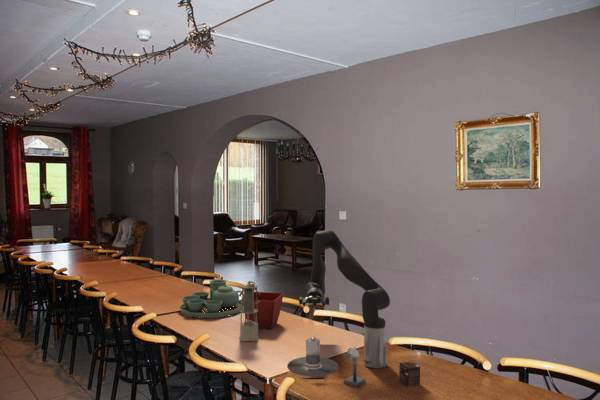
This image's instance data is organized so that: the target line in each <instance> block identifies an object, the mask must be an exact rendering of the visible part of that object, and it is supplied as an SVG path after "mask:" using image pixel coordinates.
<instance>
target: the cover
mask: <svg viewBox="0 0 600 400" xmlns="http://www.w3.org/2000/svg"><path fill="white" fill-rule="evenodd" d="M305 357H306V367H308V368H319V367H320V357H321V340H320V338H318V337H315V336H310V337H308V338H306V339H305Z"/></svg>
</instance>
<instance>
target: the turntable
mask: <svg viewBox="0 0 600 400" xmlns="http://www.w3.org/2000/svg"><path fill="white" fill-rule="evenodd" d="M339 367H340V366H339V364H338V362H337V361H335V360H333V359H330V358H327V357H324V356H320V367H319V368H308V367H306V356H302V357H301V356H300V357H298V358H293V359H292V360H289V362H288V363H287V369H288V370H289V371H290V372H291V373H293V374H295V375H299V376H304V377H302V379H303V380H323V379H326V378H325V377H324V378H323V376H329V375H331V374H334V373H336V372H337V371H338V370H339Z"/></svg>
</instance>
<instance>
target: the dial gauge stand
mask: <svg viewBox="0 0 600 400" xmlns="http://www.w3.org/2000/svg"><path fill="white" fill-rule="evenodd" d="M341 357H344V358H348V359H349V360H350V361H352V375H350V376H349V377H347V378H344V380H343V384H345V385H348V386H351V387H354V388H359V387H360V386H362V385H365V383H366V378H364V377H360V376H357V366H358V365H357V363H358V362H357V361H358V359H359V358H360V351H359V350H358V349H357V348H356V347H355V346H354V347H353V346H352V347H350V348H348V349H347V351H346V353H341Z"/></svg>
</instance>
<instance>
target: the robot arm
mask: <svg viewBox="0 0 600 400" xmlns="http://www.w3.org/2000/svg"><path fill="white" fill-rule="evenodd" d="M328 249H331V250H333V251H334V253H335V254H336V265H337V269H338V270H339V271H340V273H341V274H342V275H343V276H344V277H345V279H347V280H348V281H349V282H350V283H352V284H353V285H356V286H358V287H360V288H362V289H363V290H364V292H363V294H362V297H361V309H362V313H361V314H362V320H363V365H364V366H366V367H368V368H371V369H381V368H386V366H387V344H386V320H385V319H384V318H383V317H380V316H379V311H380V310H381V311H382V310H385V309H387V308H388V307H389V306H390V303H391V299H390V296H389V293H388V291H386V290H385V289H384V287H382V285H380V284H379V283H378V282H376V280H374V278H373V277H372V276H371V275H370V274H369V273H368V272H367V271H366V270H365V269H364V267H363V266H362V265H361V263H360V262H359V261H358V260H356V258H355V257H354V256H353V255H352V253H350V251H349V250H348V249H347V247H346V246H344V243H343V242H342V241H341V240H340V238H339V237H338V235H337V234H336V233H335V231H333V230H331V229H326V230H320V231H317V232H315V233H314V234H313V237H312V268H311V274H310V282H307V283H306V285H305V290H304V291H305V294H306V297H305V298H304V297H303V296H300V297H299V299H298V304H299V305H300V306H301V305H302V306H303V307H306V306H309V305H310V306H312V307H318V306H322V307H325V306H326V305H328V306H329V305H330V298H329V296H325V294H326V285H325V275H326V270H327V268H326V267H327V266H326V264H325V262H324V260H323V258H322V253H323V250H328ZM324 296H325V298H324Z"/></svg>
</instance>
